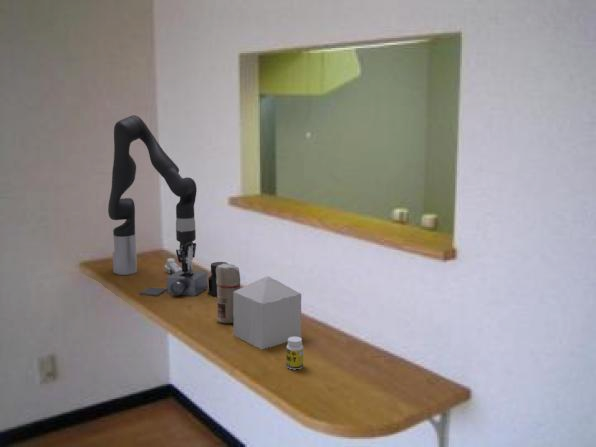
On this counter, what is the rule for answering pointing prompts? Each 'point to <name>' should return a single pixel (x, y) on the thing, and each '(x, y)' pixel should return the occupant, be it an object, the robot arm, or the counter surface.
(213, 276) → the ink bottle
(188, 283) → the block
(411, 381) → the counter surface
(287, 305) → the decorative block
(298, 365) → the supplement bottle
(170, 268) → the white elongated piece
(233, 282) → the spray can
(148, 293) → the key rest mat
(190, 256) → the grey metal cylinder
